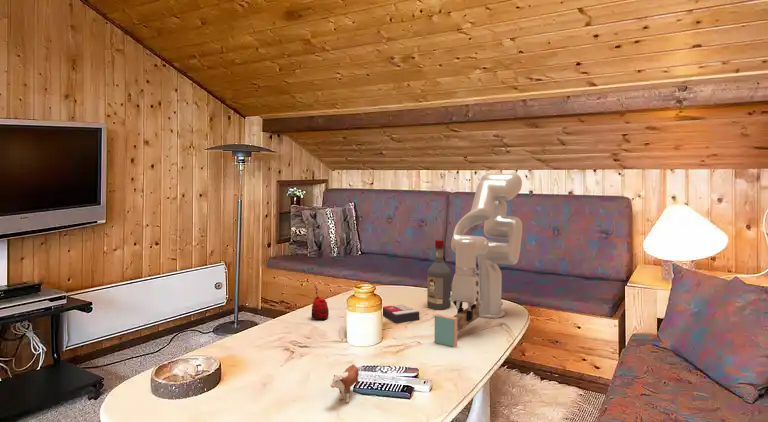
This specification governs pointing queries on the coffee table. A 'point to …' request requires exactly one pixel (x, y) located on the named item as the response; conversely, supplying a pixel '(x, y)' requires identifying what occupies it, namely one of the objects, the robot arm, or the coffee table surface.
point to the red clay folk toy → (319, 308)
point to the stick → (465, 318)
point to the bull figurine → (346, 381)
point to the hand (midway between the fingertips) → (464, 319)
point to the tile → (446, 330)
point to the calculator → (400, 313)
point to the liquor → (439, 281)
